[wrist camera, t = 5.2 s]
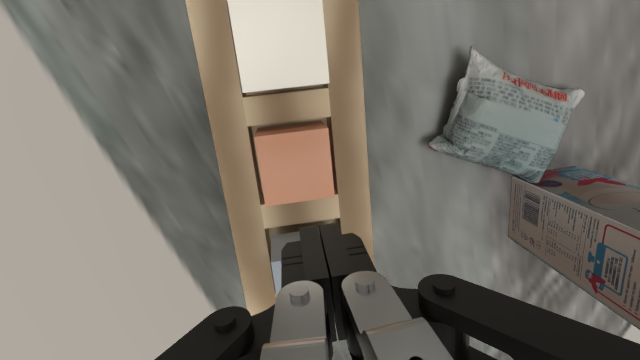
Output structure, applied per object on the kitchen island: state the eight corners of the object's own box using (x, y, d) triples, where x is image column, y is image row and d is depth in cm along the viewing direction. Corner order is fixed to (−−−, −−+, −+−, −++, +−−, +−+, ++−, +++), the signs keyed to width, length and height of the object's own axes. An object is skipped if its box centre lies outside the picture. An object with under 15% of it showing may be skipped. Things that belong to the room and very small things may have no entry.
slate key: (335, 226, 27) (344, 251, 23) (340, 280, 29) (350, 312, 25) (271, 235, 27) (270, 262, 23) (280, 289, 28) (281, 323, 24)
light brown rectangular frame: (342, -26, 26) (355, -46, 22) (363, 268, 34) (376, 297, 30) (196, -14, 25) (178, -32, 21) (252, 285, 33) (249, 318, 29)
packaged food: (455, 47, 29) (489, 43, 24) (567, 90, 31) (617, 94, 27) (416, 144, 31) (441, 157, 27) (523, 177, 34) (563, 195, 29)
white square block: (313, 1, 22) (320, -14, 18) (321, 81, 24) (329, 83, 20) (235, 8, 22) (226, -6, 18) (248, 89, 23) (242, 92, 19)
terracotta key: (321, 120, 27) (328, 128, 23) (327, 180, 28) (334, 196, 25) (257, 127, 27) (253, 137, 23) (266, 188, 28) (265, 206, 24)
